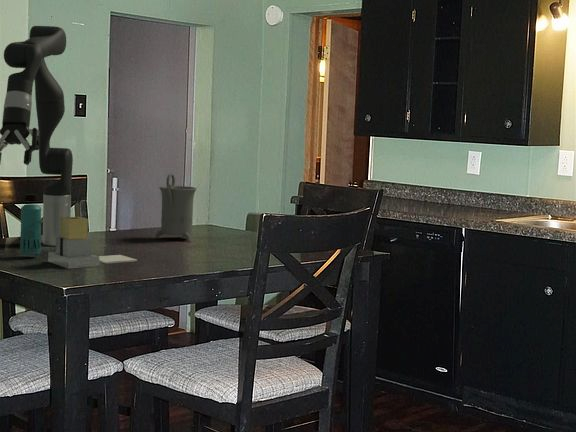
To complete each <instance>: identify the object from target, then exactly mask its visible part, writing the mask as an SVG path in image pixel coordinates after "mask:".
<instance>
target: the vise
mask: <svg viewBox="0 0 576 432" xmlns="http://www.w3.org/2000/svg"><path fill="white" fill-rule="evenodd" d="M99 256H100V255H96V254H93V239H92V238H90V237H88V239H72V240H69V239H65V238H62V237H56V246H55V251H48V253H47V262H48V263H51V264H54V265H57V266H60V267H63V268H65V269H80V268H81V269H82V268H93V267H94V268H95V267H100V262H99Z"/></svg>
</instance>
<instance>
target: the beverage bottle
mask: <svg viewBox="0 0 576 432" xmlns="http://www.w3.org/2000/svg"><path fill="white" fill-rule="evenodd" d="M23 199H24V201H25V202H38V201H39V197H38V194H36V193H25V194H24V198H23ZM42 228H43V219H42V208H41V206H40V205H38V204H30V203H29V204H24V205H22V207H20V233H19V234H20V237H19V238H20V239H19V242H20V243H19V247H20V248H19V252H20V254H23V255H38V254H41V252H42Z"/></svg>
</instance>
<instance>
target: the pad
mask: <svg viewBox="0 0 576 432" xmlns="http://www.w3.org/2000/svg"><path fill="white" fill-rule="evenodd" d="M98 256H99V263H102V264H118V263H119V264H120V263H133V262H134V263H135V262H138V259H136V258H134V257H129V256H126V255H123V254H115V255H98Z"/></svg>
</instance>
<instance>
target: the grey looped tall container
mask: <svg viewBox="0 0 576 432" xmlns="http://www.w3.org/2000/svg"><path fill="white" fill-rule="evenodd" d="M170 179H171V180H172V181H171V183H170ZM175 181H176V178H175V175H174V174H173V173H169V174H168V175H167V177H166V181H165V182H166V185H162V186H159V190H160V193H161V220H160V221H161V224H160V226H161V227H160V230H158V231H157V232H156V234H155V236H153V239H154V240H157V239H158V238H159V237H160V236H163V235H165V236H166V235H167V236H183V238H185V239H186V240H187V242H189V243H190V242H192V241H191V236H190V235H193V219H194V218H193V216H194V215H193V214H194V212H193V211H194V197H195V192H196V191H197V188H196V187H193V186H186V185H185V186H184V185H176V182H175Z"/></svg>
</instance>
